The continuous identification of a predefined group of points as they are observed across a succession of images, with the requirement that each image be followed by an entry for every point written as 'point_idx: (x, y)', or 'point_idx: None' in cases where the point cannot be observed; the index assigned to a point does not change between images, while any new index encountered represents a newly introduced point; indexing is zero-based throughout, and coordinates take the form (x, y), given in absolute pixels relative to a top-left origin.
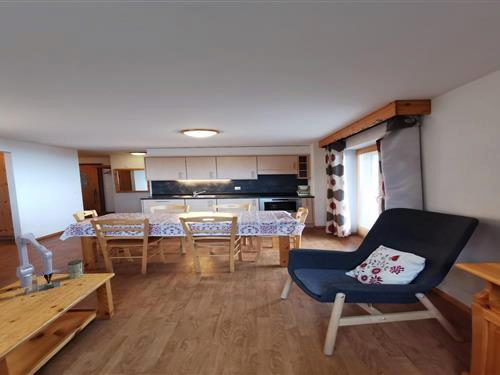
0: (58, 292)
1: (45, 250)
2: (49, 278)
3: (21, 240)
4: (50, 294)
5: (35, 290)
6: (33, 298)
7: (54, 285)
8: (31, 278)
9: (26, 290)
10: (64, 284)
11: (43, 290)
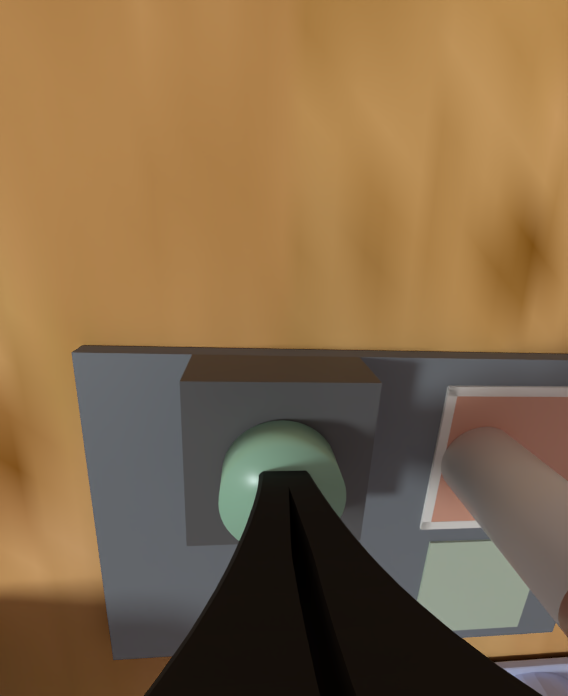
0: (82, 4)
1: None
2: (267, 599)
3: None
4: (254, 25)
5: (487, 433)
6: (554, 82)
7: None
8: None
9: None
10: (23, 460)
11: (368, 363)
